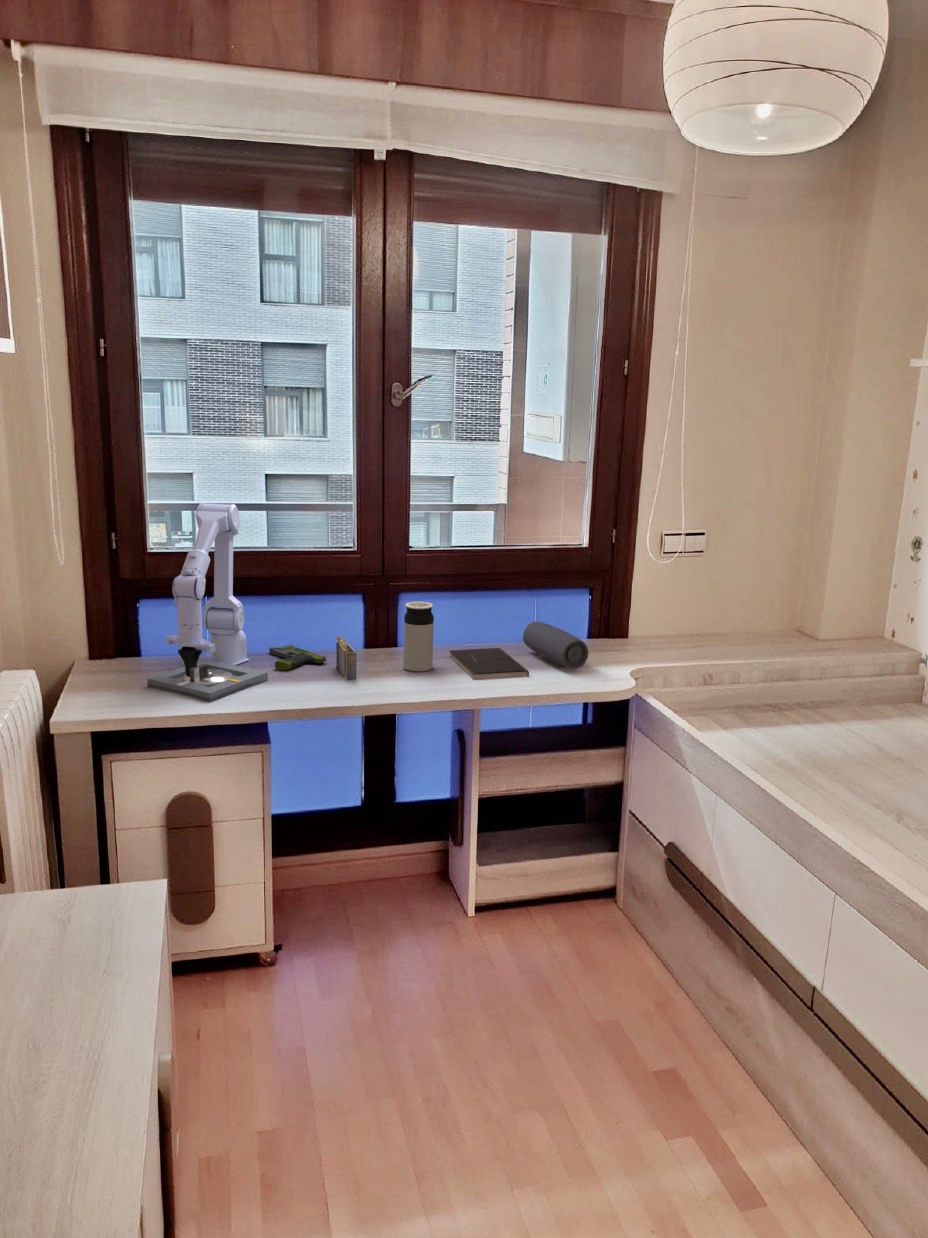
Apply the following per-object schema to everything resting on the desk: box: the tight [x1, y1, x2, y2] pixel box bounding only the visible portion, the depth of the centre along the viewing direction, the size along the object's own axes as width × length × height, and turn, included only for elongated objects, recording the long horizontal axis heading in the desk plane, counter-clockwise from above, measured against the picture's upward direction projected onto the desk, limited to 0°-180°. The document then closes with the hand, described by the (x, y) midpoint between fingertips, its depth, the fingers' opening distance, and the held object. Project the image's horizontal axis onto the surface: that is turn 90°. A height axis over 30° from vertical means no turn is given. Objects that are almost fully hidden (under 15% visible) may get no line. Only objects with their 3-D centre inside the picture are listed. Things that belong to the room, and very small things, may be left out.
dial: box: [184, 664, 233, 687], centre depth 241 cm, size 12×12×4 cm
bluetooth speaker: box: [522, 620, 589, 670], centre depth 270 cm, size 23×9×10 cm, turn 25°
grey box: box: [334, 635, 357, 681], centre depth 253 cm, size 11×3×10 cm, turn 21°
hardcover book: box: [448, 647, 530, 680], centre depth 265 cm, size 16×23×2 cm
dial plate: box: [146, 658, 269, 703], centre depth 242 cm, size 21×21×2 cm
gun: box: [268, 644, 328, 671], centre depth 264 cm, size 2×19×15 cm
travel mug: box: [403, 601, 435, 673], centre depth 259 cm, size 8×8×18 cm
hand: (191, 675), depth 238 cm, fingers closed, pressing on dial
